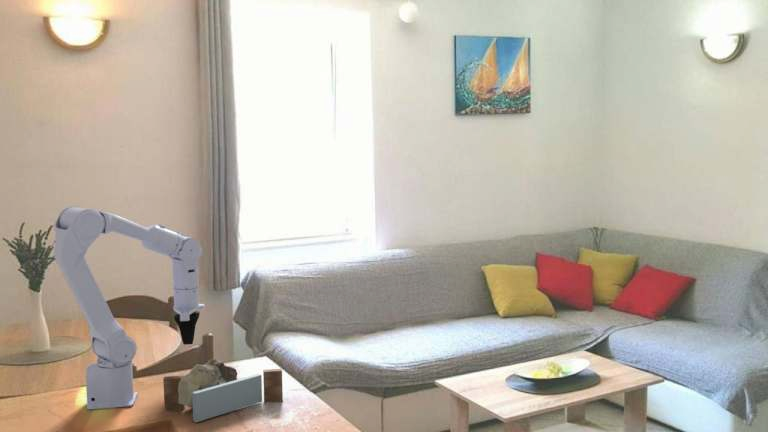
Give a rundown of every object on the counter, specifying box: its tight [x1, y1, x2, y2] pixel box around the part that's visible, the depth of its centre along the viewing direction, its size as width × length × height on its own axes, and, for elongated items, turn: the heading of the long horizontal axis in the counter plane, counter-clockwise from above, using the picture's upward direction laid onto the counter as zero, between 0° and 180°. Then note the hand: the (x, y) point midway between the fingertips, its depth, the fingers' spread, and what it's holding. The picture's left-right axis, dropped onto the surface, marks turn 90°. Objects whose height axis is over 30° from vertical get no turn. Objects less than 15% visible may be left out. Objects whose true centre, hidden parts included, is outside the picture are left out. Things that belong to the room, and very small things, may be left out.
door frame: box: [162, 368, 284, 412], centre depth 156 cm, size 25×2×7 cm, turn 101°
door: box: [192, 373, 263, 423], centre depth 151 cm, size 16×1×6 cm, turn 134°
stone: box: [178, 358, 238, 410], centre depth 155 cm, size 11×14×10 cm
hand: (188, 343), depth 170 cm, fingers closed
